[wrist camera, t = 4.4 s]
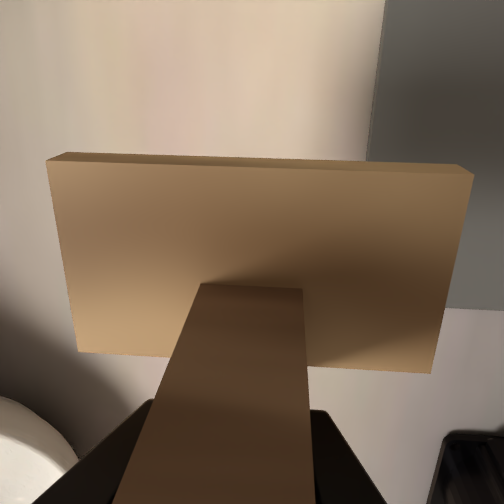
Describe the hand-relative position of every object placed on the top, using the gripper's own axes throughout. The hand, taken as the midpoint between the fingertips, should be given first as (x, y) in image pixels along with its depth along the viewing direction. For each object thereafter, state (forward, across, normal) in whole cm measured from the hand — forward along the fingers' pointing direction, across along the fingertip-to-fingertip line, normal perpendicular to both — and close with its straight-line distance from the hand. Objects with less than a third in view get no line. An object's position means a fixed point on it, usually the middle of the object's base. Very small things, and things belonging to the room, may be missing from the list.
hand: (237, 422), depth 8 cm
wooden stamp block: (+4, 0, -1) cm, 4 cm away
